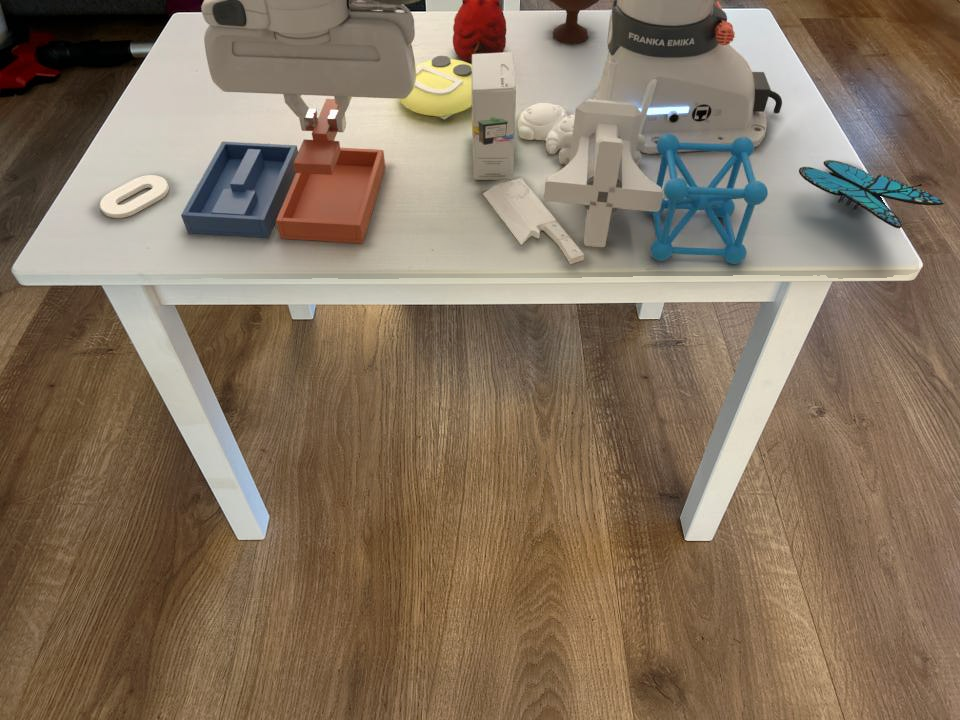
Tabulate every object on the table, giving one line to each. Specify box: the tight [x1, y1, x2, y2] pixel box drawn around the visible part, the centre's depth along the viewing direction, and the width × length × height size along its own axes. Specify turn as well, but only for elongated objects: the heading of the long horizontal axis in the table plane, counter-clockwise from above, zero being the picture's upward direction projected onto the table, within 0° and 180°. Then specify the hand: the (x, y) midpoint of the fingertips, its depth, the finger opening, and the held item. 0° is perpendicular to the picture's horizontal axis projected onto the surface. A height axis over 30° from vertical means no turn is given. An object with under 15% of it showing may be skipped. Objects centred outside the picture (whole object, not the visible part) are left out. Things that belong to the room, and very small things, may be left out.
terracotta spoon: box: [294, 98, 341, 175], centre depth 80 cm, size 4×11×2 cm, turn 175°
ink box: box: [471, 51, 517, 181], centre depth 88 cm, size 8×5×12 cm, turn 1°
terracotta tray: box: [275, 147, 386, 244], centre depth 87 cm, size 9×14×2 cm, turn 175°
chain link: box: [99, 174, 170, 219], centre depth 88 cm, size 8×1×5 cm
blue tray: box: [180, 141, 299, 239], centre depth 87 cm, size 9×14×2 cm, turn 175°
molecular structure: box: [645, 134, 769, 265], centre depth 79 cm, size 10×10×10 cm
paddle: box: [211, 149, 265, 216], centre depth 87 cm, size 4×11×2 cm, turn 174°
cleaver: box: [482, 177, 585, 265], centre depth 84 cm, size 5×15×1 cm, turn 24°
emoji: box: [398, 55, 472, 121], centre depth 100 cm, size 4×12×12 cm
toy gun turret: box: [543, 60, 665, 248], centre depth 83 cm, size 12×13×18 cm
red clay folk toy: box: [452, 0, 507, 65], centre depth 104 cm, size 8×7×15 cm
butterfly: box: [798, 159, 946, 229], centre depth 84 cm, size 19×13×5 cm
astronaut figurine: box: [517, 102, 575, 155], centre depth 95 cm, size 9×12×3 cm
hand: (324, 128), depth 80 cm, fingers closed on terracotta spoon, 1 cm apart
